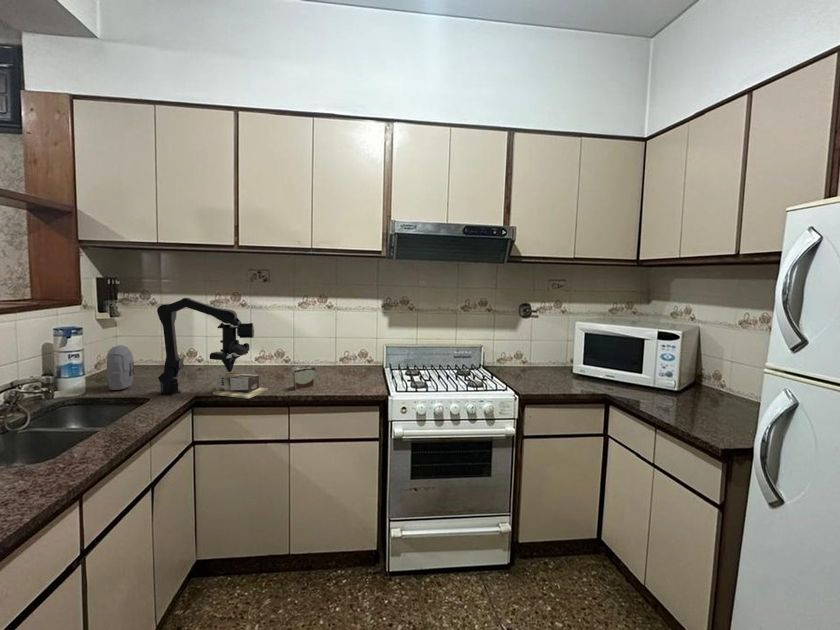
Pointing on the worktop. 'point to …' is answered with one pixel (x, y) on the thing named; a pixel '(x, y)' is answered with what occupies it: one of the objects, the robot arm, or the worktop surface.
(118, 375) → the grey rounded bag
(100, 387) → the worktop surface
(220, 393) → the cutting board
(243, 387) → the coffee box
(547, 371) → the worktop surface
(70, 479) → the worktop surface
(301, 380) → the food container
